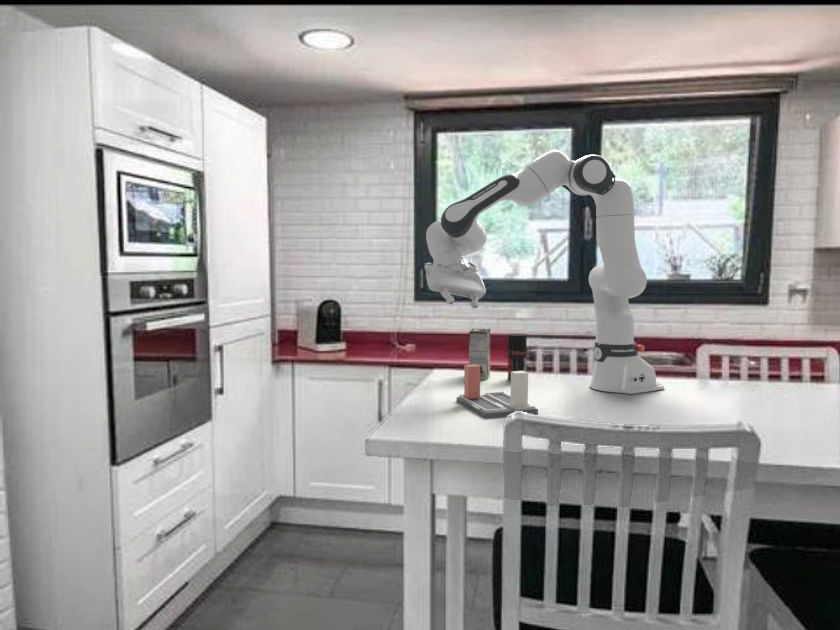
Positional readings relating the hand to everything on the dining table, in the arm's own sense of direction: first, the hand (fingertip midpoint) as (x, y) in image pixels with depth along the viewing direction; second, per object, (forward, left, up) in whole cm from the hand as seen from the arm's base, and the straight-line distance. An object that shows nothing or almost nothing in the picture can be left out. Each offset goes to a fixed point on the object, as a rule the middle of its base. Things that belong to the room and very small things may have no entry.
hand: (463, 305), depth 186 cm
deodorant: (-26, -17, -27) cm, 41 cm away
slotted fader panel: (-3, +16, -27) cm, 31 cm away
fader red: (+1, +9, -25) cm, 27 cm away
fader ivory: (-7, +22, -25) cm, 34 cm away
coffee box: (-16, -25, -27) cm, 40 cm away
